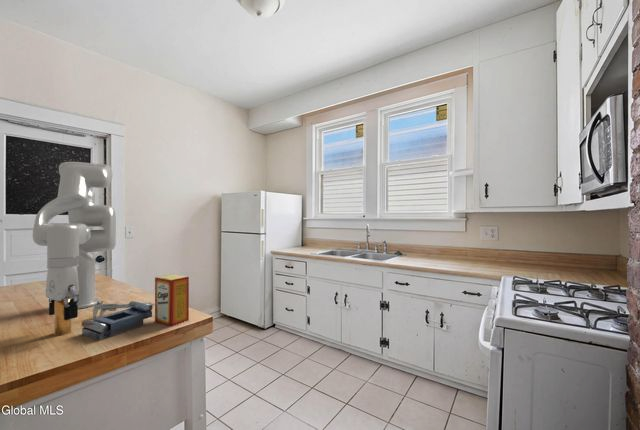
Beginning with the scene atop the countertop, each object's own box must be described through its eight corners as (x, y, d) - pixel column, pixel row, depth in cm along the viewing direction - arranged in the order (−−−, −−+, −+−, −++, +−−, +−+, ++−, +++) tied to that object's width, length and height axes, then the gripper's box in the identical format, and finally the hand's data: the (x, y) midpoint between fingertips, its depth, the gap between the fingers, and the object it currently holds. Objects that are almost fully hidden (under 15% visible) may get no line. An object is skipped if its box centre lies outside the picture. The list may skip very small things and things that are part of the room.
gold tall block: (51, 334, 88) (52, 296, 88) (67, 329, 91) (67, 293, 92) (58, 336, 86) (58, 297, 86) (74, 331, 90) (74, 294, 90)
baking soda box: (155, 321, 98) (155, 276, 99) (172, 315, 104) (172, 273, 104) (171, 326, 94) (171, 279, 94) (188, 320, 99) (188, 275, 100)
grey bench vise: (81, 334, 87) (81, 314, 87) (135, 317, 102) (135, 300, 102) (98, 340, 83) (98, 319, 83) (152, 322, 98) (152, 303, 98)
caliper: (93, 319, 101) (93, 302, 101) (93, 318, 102) (93, 301, 102) (154, 305, 117) (154, 290, 117) (153, 305, 118) (153, 290, 118)
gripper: (35, 262, 89) (35, 315, 89) (61, 266, 82) (61, 324, 82) (64, 259, 96) (64, 308, 96) (91, 262, 89) (91, 316, 88)
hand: (63, 316), depth 89 cm, fingers open, 9 cm apart
